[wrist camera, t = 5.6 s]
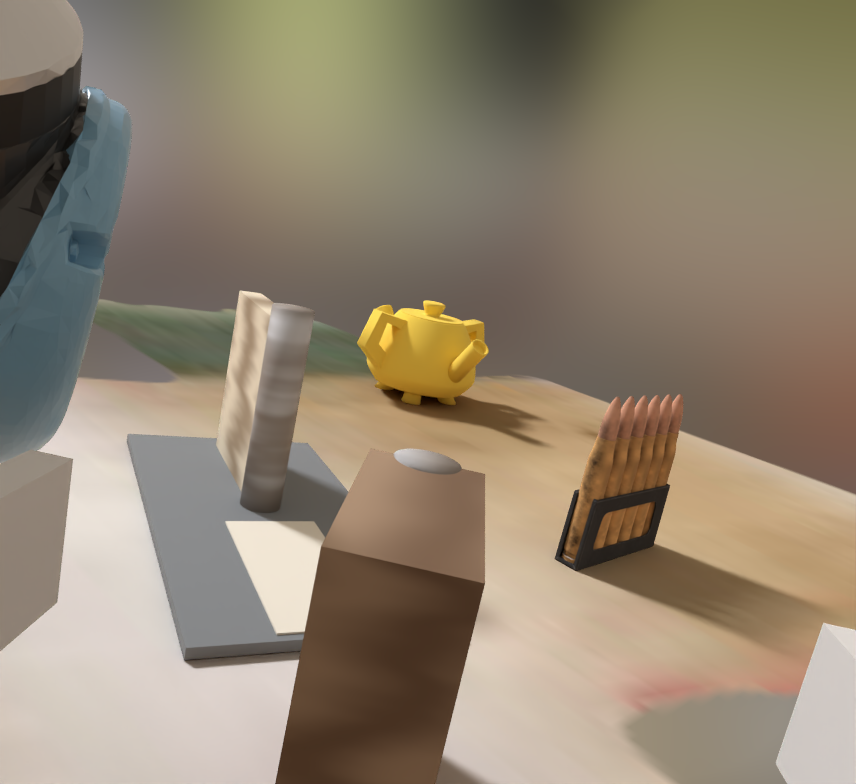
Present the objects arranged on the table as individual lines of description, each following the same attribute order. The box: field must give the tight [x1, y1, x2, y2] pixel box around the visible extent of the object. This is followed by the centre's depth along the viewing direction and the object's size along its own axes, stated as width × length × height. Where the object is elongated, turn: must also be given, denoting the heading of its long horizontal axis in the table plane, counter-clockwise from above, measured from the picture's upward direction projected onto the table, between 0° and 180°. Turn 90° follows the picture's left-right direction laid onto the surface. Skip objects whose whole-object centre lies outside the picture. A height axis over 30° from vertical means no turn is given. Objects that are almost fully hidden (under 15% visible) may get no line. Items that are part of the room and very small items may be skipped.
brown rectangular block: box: [275, 449, 485, 784], centre depth 27 cm, size 4×10×12 cm, turn 176°
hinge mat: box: [127, 434, 348, 660], centre depth 49 cm, size 28×14×1 cm, turn 26°
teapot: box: [357, 301, 489, 405], centre depth 90 cm, size 20×18×11 cm
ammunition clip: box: [555, 394, 683, 571], centre depth 55 cm, size 11×2×12 cm, turn 135°
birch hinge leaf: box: [216, 291, 315, 513], centre depth 53 cm, size 12×3×13 cm, turn 26°
